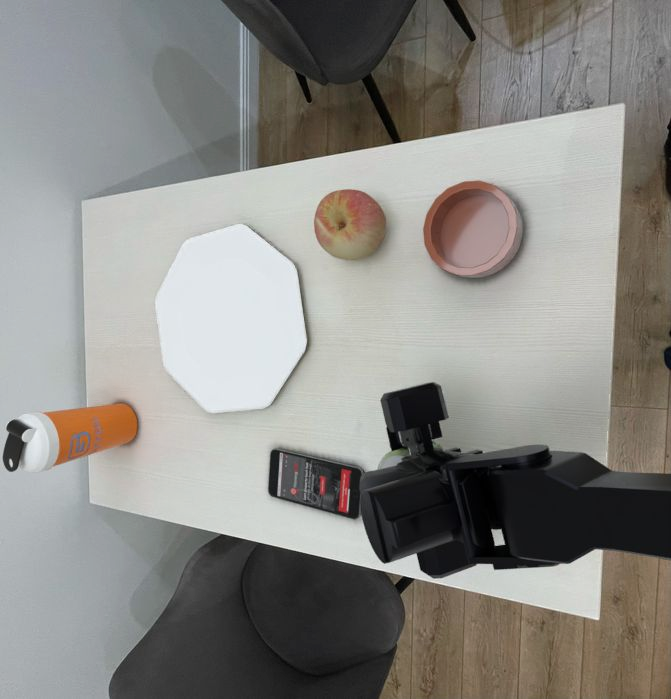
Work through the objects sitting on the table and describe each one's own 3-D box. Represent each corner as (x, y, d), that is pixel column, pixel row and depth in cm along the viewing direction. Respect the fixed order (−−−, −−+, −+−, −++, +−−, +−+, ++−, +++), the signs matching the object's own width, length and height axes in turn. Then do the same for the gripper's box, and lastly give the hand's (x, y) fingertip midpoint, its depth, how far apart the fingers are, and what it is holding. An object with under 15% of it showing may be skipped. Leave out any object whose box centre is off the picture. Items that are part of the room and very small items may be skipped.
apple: (335, 199, 74) (305, 186, 67) (396, 195, 70) (371, 181, 63) (333, 263, 74) (303, 257, 67) (393, 263, 70) (368, 257, 63)
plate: (320, 402, 76) (315, 403, 75) (176, 416, 89) (169, 417, 88) (293, 210, 77) (287, 208, 75) (153, 251, 89) (146, 250, 88)
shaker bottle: (104, 441, 97) (-9, 469, 80) (107, 393, 96) (-7, 410, 79) (140, 453, 93) (29, 485, 76) (144, 403, 92) (32, 424, 75)
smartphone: (358, 520, 74) (267, 495, 80) (360, 519, 74) (270, 494, 81) (362, 469, 73) (270, 448, 80) (364, 467, 74) (273, 447, 80)
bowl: (533, 194, 62) (528, 186, 58) (509, 286, 64) (502, 284, 60) (445, 183, 67) (435, 174, 63) (425, 269, 68) (414, 266, 64)
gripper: (359, 404, 46) (315, 407, 61) (411, 623, 45) (353, 571, 60) (472, 376, 49) (404, 385, 64) (522, 579, 48) (441, 541, 63)
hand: (399, 469), depth 63 cm, fingers closed on beverage can, 5 cm apart
